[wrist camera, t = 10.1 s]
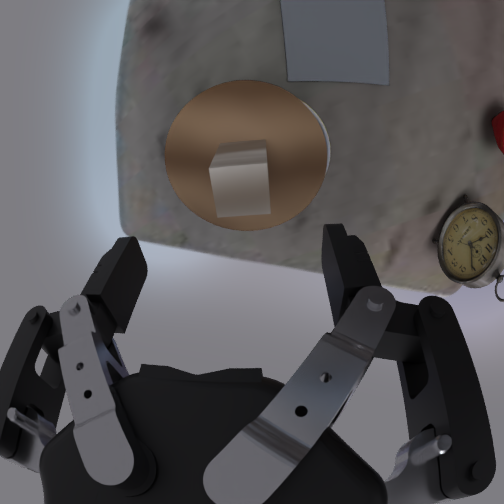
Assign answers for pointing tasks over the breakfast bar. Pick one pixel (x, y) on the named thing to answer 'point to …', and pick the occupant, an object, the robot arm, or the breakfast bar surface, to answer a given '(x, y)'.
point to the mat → (336, 40)
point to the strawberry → (499, 130)
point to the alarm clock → (472, 246)
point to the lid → (246, 155)
